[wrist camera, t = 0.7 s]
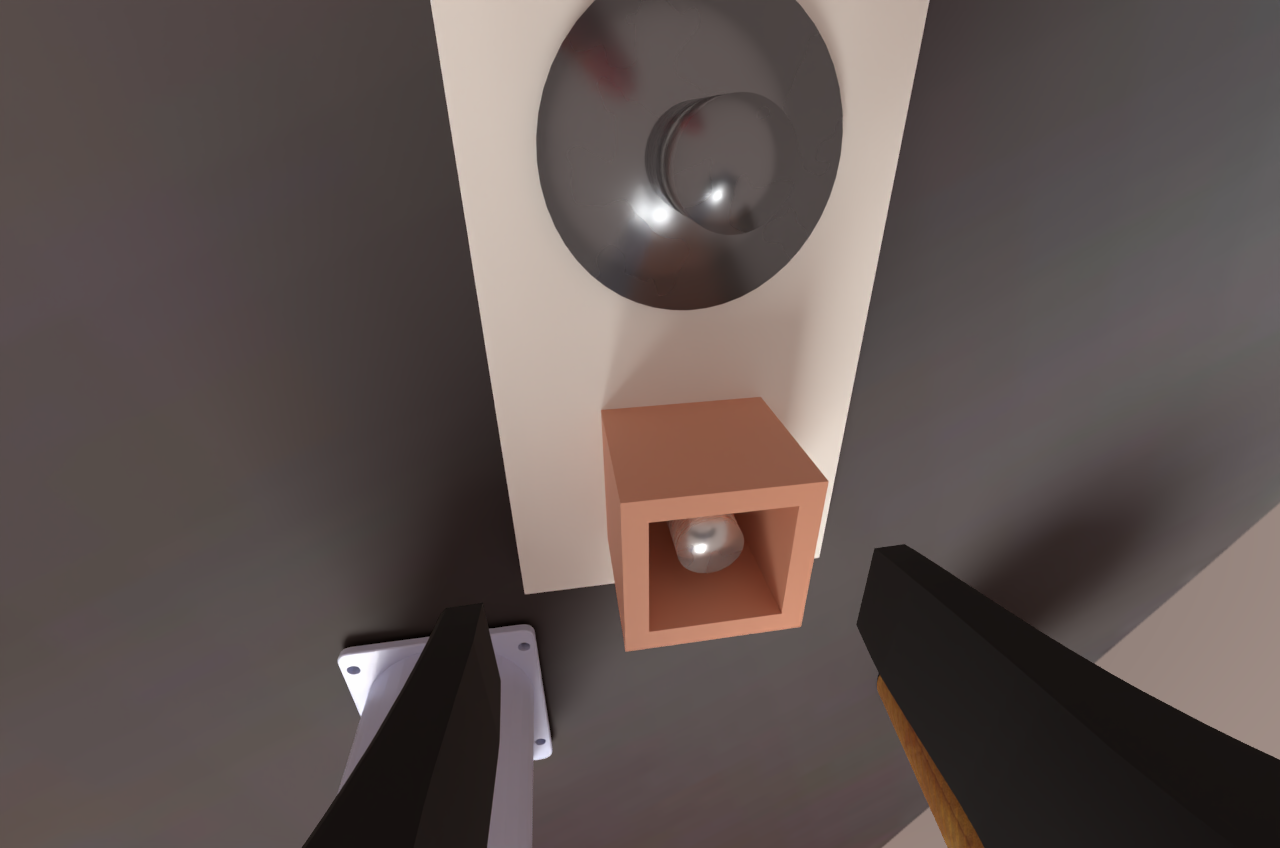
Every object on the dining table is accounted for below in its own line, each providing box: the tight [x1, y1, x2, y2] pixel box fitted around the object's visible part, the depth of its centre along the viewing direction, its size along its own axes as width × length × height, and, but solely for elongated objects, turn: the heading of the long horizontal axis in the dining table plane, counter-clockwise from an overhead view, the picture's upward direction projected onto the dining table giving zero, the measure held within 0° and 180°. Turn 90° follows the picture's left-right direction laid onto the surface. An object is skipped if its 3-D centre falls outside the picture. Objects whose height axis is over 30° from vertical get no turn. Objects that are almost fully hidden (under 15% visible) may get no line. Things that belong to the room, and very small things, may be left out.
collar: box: [601, 397, 829, 652], centre depth 17 cm, size 5×5×5 cm
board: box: [430, 0, 929, 594], centre depth 17 cm, size 20×12×2 cm, turn 1°
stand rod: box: [667, 513, 744, 573], centre depth 17 cm, size 2×2×4 cm
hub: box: [536, 0, 843, 310], centre depth 13 cm, size 8×8×4 cm
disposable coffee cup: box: [877, 675, 984, 848], centre depth 25 cm, size 10×10×12 cm
